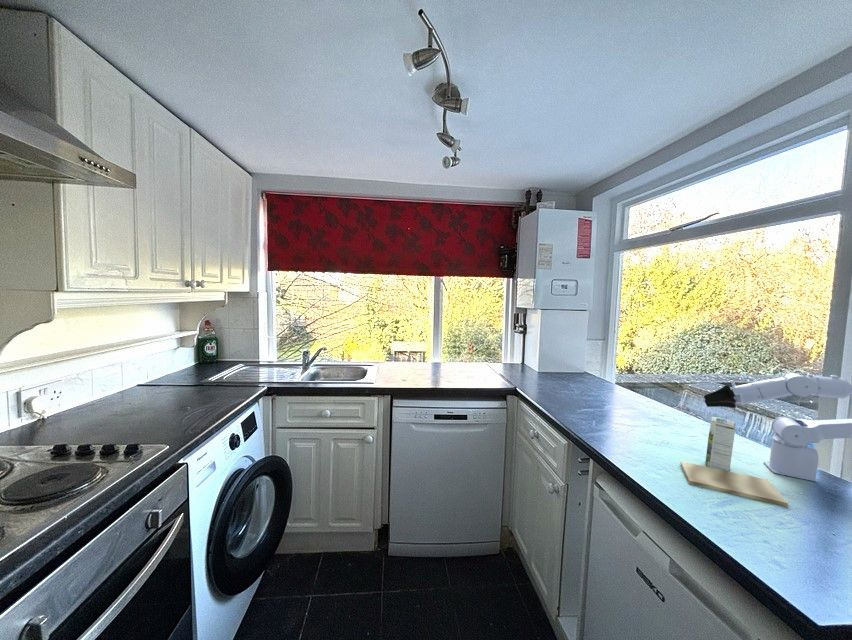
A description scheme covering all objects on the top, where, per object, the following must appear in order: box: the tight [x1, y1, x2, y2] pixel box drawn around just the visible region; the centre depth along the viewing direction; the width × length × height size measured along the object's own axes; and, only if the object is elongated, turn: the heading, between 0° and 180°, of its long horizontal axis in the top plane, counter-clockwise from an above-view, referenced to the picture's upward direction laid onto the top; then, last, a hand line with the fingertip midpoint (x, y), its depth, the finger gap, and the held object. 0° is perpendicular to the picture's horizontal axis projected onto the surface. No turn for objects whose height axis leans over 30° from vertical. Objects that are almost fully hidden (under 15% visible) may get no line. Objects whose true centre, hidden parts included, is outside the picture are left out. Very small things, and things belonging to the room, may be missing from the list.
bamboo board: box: [680, 461, 789, 508], centre depth 98 cm, size 20×13×1 cm, turn 63°
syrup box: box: [704, 416, 736, 472], centre depth 107 cm, size 6×6×14 cm
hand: (705, 401), depth 116 cm, fingers open, 7 cm apart
